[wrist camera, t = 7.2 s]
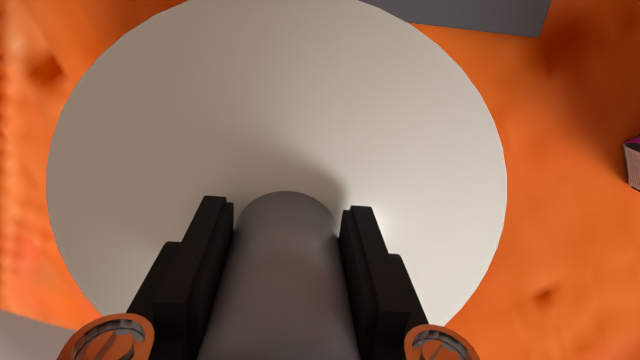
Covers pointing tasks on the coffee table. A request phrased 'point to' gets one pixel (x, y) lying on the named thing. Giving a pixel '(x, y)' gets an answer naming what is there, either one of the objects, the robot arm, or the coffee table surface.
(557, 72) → the coffee table surface
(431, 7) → the mat
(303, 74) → the lid
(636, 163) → the candy bar box
